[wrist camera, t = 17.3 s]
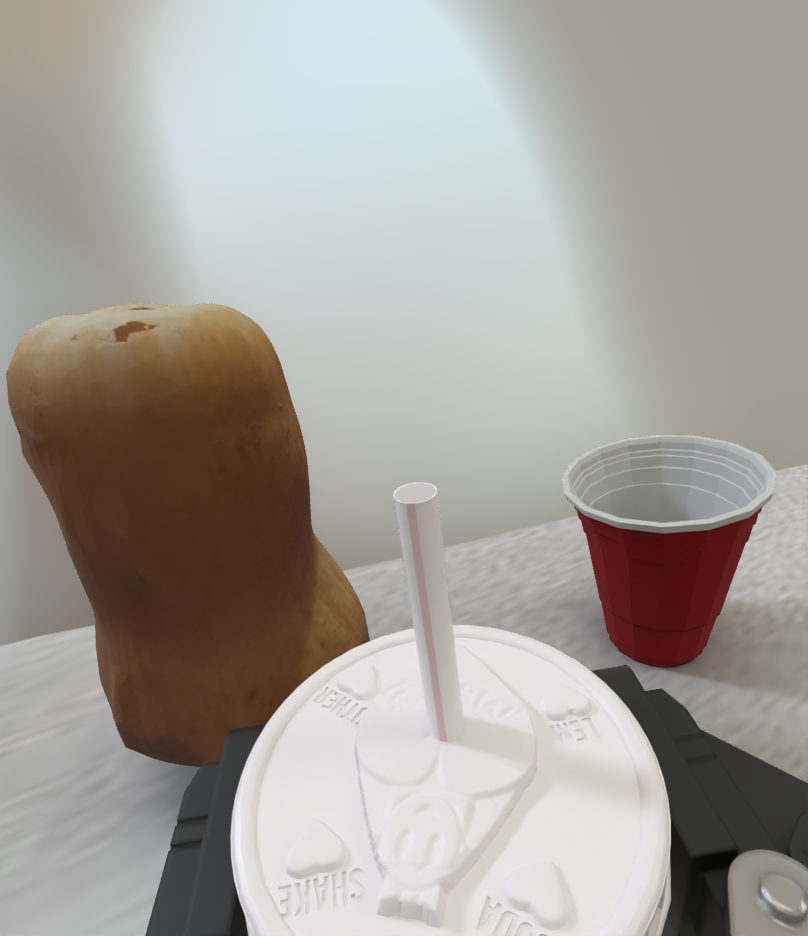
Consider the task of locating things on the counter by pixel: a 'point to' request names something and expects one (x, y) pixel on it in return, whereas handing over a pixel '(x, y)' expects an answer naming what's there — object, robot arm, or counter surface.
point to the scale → (767, 800)
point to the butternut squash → (183, 517)
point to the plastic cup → (666, 535)
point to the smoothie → (451, 786)
